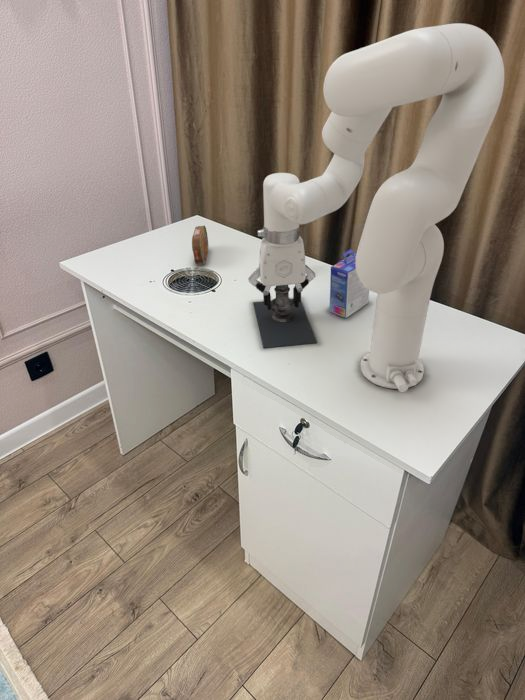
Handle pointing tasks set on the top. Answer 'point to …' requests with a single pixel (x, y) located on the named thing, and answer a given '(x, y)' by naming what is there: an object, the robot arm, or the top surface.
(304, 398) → the top surface
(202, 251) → the tin
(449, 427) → the top surface
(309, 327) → the mat
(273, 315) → the salt shaker
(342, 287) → the ink cartridge box
